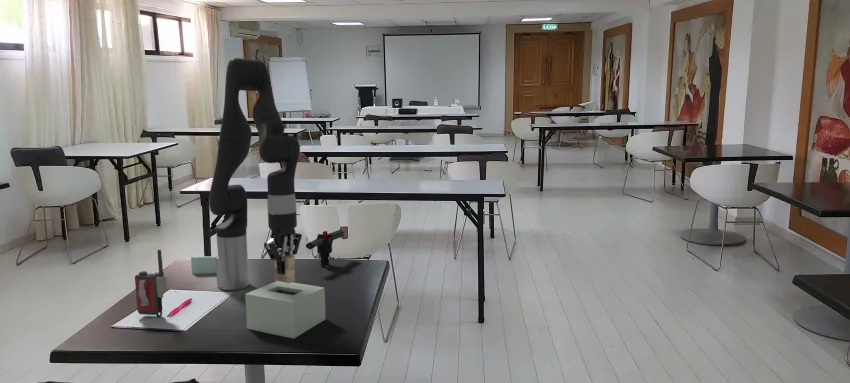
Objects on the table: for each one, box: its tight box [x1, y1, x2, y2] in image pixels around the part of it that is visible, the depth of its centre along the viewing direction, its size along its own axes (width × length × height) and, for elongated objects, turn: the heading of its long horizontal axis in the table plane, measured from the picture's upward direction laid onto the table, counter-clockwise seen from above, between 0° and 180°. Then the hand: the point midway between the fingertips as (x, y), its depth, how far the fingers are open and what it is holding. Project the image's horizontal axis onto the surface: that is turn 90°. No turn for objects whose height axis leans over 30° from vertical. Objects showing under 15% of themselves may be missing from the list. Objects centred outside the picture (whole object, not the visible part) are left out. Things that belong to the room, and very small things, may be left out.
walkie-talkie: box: [134, 249, 168, 318], centre depth 180 cm, size 9×4×20 cm, turn 79°
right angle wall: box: [190, 255, 218, 275], centre depth 226 cm, size 12×12×8 cm
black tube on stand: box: [305, 229, 344, 268], centre depth 225 cm, size 5×20×15 cm, turn 155°
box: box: [244, 280, 326, 339], centre depth 174 cm, size 16×14×10 cm
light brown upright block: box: [273, 253, 296, 283], centre depth 172 cm, size 5×2×7 cm, turn 63°
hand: (284, 272), depth 173 cm, fingers closed on light brown upright block, 2 cm apart
